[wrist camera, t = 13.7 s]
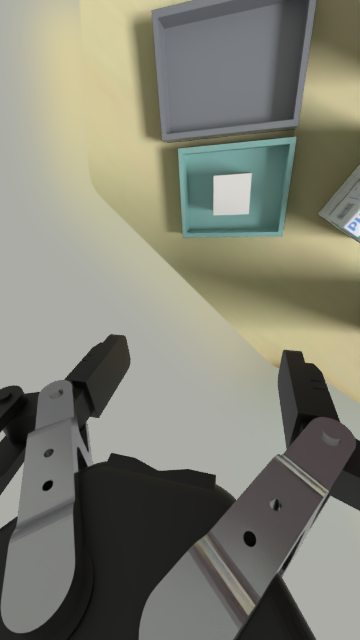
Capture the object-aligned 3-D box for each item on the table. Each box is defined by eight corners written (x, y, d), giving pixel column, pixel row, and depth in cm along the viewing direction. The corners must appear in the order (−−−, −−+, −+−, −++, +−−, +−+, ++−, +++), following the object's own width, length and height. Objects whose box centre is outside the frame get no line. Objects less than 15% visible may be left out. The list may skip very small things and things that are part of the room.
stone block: (251, 172, 32) (251, 173, 29) (248, 209, 35) (248, 214, 31) (217, 175, 34) (213, 175, 30) (217, 210, 36) (213, 215, 32)
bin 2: (292, 139, 30) (296, 136, 28) (279, 231, 36) (282, 236, 33) (183, 150, 34) (177, 148, 31) (186, 233, 39) (182, 237, 37)
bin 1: (313, -10, 24) (321, -31, 22) (294, 129, 30) (298, 125, 27) (160, 24, 28) (151, 10, 25) (168, 142, 33) (162, 140, 31)
